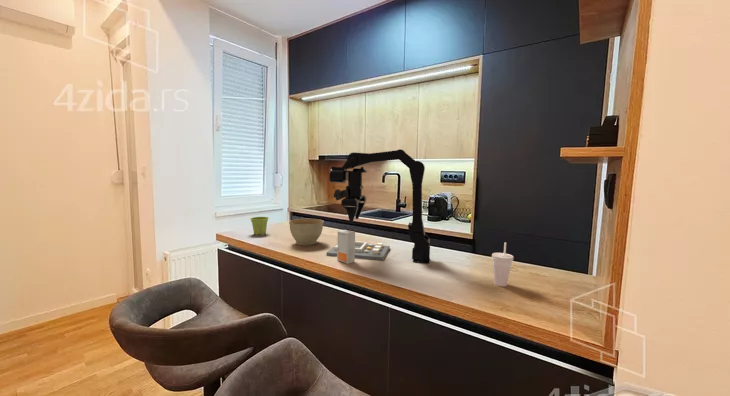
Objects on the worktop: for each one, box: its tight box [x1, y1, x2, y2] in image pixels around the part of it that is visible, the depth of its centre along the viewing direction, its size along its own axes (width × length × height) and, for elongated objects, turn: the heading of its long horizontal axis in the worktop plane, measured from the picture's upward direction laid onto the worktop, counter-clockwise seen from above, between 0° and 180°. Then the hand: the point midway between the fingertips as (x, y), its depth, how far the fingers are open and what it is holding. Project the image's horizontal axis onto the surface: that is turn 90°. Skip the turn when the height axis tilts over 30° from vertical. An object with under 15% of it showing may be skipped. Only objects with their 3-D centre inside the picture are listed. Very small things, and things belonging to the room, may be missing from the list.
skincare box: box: [336, 229, 356, 265], centre depth 117 cm, size 6×4×12 cm
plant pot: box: [249, 216, 270, 236], centre depth 161 cm, size 9×9×9 cm
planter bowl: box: [288, 218, 324, 246], centre depth 143 cm, size 16×16×11 cm
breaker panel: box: [325, 240, 390, 261], centre depth 131 cm, size 24×18×3 cm
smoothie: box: [491, 242, 514, 288], centre depth 96 cm, size 6×6×14 cm
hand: (354, 220), depth 125 cm, fingers open, 9 cm apart
